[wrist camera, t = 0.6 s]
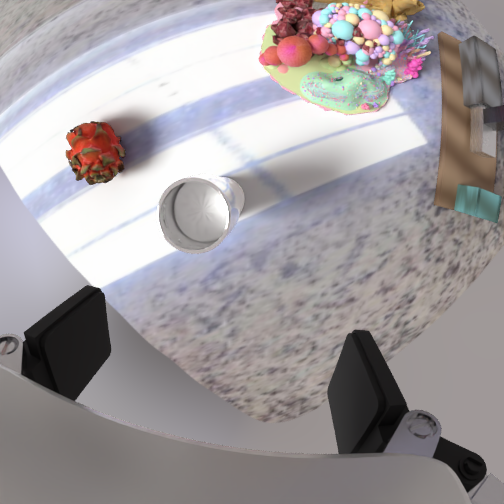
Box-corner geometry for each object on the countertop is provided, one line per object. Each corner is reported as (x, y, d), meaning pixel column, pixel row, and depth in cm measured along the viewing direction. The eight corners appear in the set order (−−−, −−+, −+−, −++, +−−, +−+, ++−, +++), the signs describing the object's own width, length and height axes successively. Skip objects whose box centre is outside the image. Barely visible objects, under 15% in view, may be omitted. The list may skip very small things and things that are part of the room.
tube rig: (437, 34, 27) (457, 20, 21) (487, 61, 27) (508, 53, 20) (433, 204, 36) (458, 211, 29) (483, 218, 35) (508, 227, 29)
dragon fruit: (135, 182, 39) (96, 138, 39) (145, 141, 33) (102, 97, 33) (89, 209, 34) (53, 159, 34) (90, 166, 27) (52, 116, 27)
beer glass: (252, 178, 37) (240, 182, 22) (242, 229, 39) (226, 263, 24) (201, 169, 37) (160, 169, 22) (193, 219, 39) (150, 247, 24)
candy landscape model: (282, -29, 27) (283, -63, 18) (419, 14, 27) (443, -8, 18) (248, 94, 34) (241, 71, 25) (408, 140, 34) (442, 135, 25)
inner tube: (465, 47, 25) (493, 33, 17) (478, 55, 25) (506, 43, 17) (469, 151, 30) (504, 151, 23) (483, 157, 30) (517, 158, 23)
